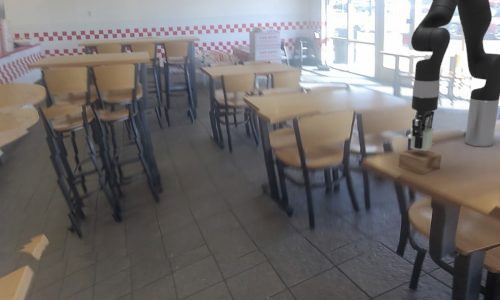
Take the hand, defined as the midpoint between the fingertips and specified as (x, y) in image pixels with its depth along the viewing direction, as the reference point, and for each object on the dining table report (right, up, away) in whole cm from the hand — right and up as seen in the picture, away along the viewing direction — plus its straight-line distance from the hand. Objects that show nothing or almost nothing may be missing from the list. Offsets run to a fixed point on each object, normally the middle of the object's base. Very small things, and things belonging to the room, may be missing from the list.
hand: (420, 145), depth 132 cm
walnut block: (0, -7, +3) cm, 8 cm away
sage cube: (0, -1, 0) cm, 1 cm away
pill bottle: (+3, -3, +14) cm, 14 cm away
